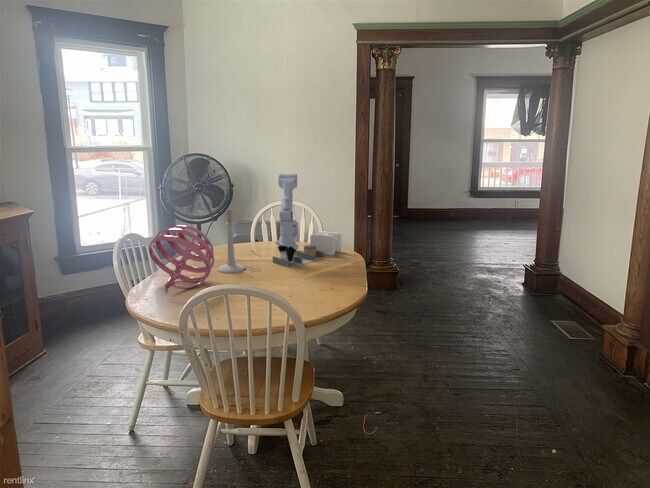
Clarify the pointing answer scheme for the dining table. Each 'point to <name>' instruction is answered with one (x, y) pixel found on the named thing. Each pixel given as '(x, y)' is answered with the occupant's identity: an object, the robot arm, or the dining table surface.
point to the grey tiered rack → (299, 259)
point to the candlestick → (230, 251)
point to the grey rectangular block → (286, 256)
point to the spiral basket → (184, 254)
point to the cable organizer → (326, 242)
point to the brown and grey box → (310, 250)
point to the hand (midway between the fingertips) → (287, 260)
